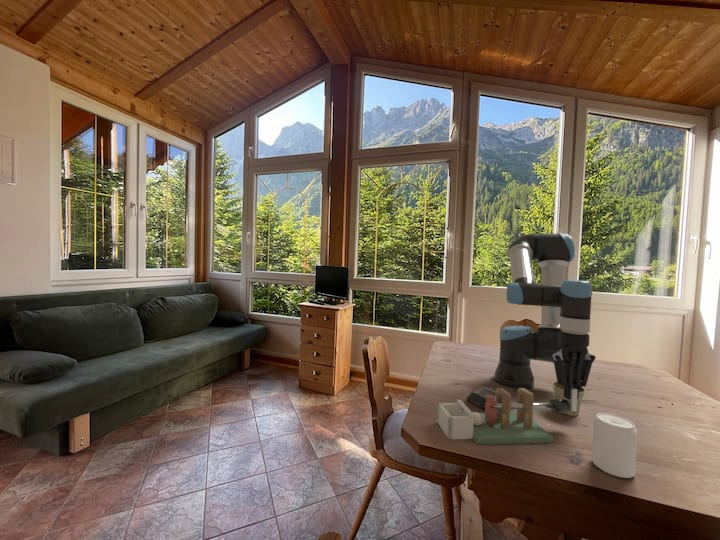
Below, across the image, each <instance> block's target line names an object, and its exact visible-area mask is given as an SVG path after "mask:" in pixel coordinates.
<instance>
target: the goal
mask: <svg viewBox="0 0 720 540" xmlns="http://www.w3.org/2000/svg"><path fill="white" fill-rule="evenodd" d="M437 406H438V407H437V424H438V425H439V427H440V429H441V430H442V432H443V433H444V435H445V436H446V438H447V439H448V440H473V422H474V418H473V417H474V414H473V412H472V410H471V409H470V408H469V407H468V406H467V405H466V404H465V403H464V401H462V400H461V399H457V401H456V402H438V403H437ZM462 409H463V410H464V413H467V414H468V415H469V416H461V413H462Z"/></svg>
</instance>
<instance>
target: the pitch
mask: <svg viewBox="0 0 720 540" xmlns="http://www.w3.org/2000/svg"><path fill="white" fill-rule="evenodd" d="M478 413H479V414H480V415H481V416H482V418H483V422H482V424H481V425H479V426H476V425H473V439H472V440H473V441H474V442H475V444H476V445H496V444H497V445H499V444H501V445H503V444H506V445H507V444H511V445H512V444H542V443H543V444H546V443H548V444H550V443H554V436H552V434H551V433H549V432H548V431H547V430H545V429H544V428H543V427H541V426H540V425H539V424H538V423H537V422H535V421H534V420H533V419H532V428H525V427H524V422H518V421H517V411H516V412H510V423H509V428H505V429H503V428H502V427H501V422H496V421H495V426H490V425H489V424H488V423H487V422H486V421H485V412H478ZM461 416H469V415H468V414H467V413H466V412H461Z"/></svg>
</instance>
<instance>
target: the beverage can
mask: <svg viewBox="0 0 720 540" xmlns="http://www.w3.org/2000/svg"><path fill="white" fill-rule="evenodd" d="M592 427H593V430H592V450H591V451H592V453H591V460H592V463H593V464H594V465H595V466H596V467H597V468H598V469H600V470H602V471H603V472H604V473H607V474H608V475H611V476H613V477H619V478H624V479H630V478H633V477H635V476H636V465H637V446H638V431H637V429H636V426H635V423H634V422H633V421H631V420H629V419H627V418H625V417H623V416H620V415H617V414H613V413H607V412H598V413H597V414H596V416H595V417H594V419H593V426H592Z"/></svg>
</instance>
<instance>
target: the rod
mask: <svg viewBox="0 0 720 540" xmlns="http://www.w3.org/2000/svg"><path fill="white" fill-rule="evenodd" d="M486 402H487V403H485V408H484V413H485V421H486V422H487V423H488V424H489V425H490V426H495V409H502V403H495V397H494V396H492V395H487V401H486ZM517 409H524V403H517V402H510V410H517ZM535 409H536V410H538V409H539V410H542V409H544V410H545V409H548V410H549V409H550V410H551V411H552V412H553V413H561V412H569V411H570V404H569V402H568V401H567V400H566V399H556V398H551V399H549V401H548V402H533V410H535Z"/></svg>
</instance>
